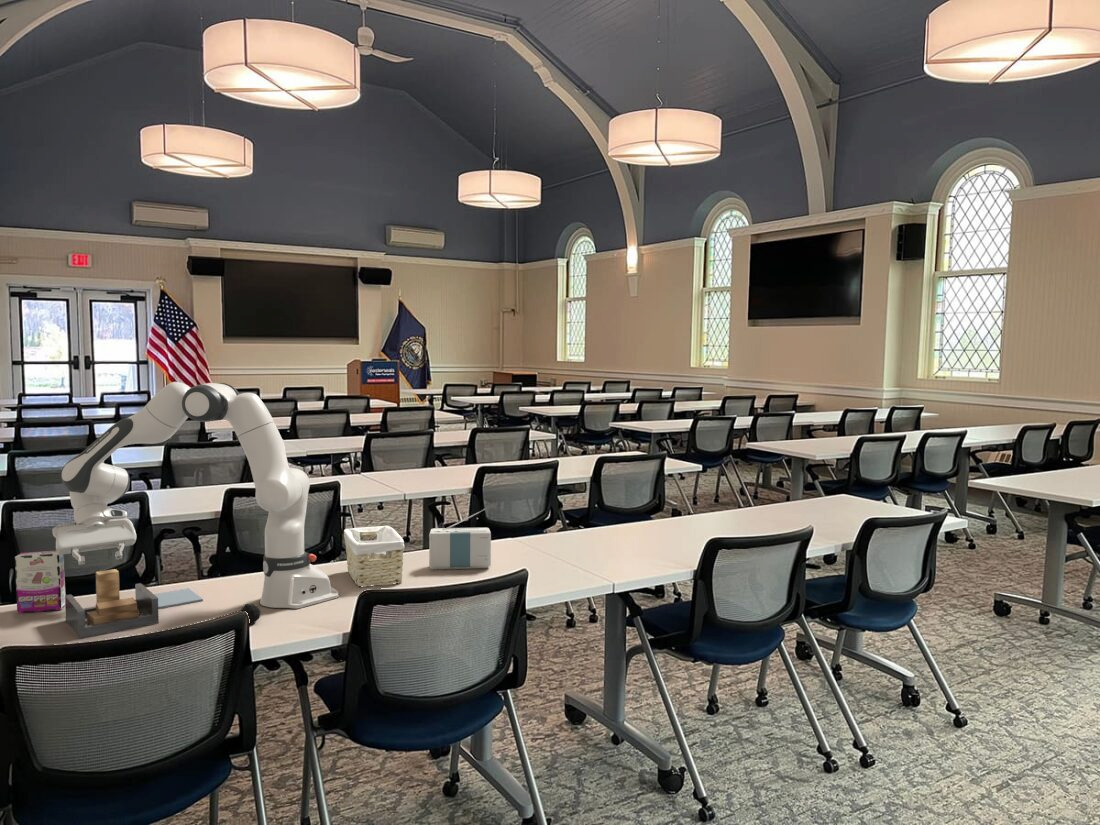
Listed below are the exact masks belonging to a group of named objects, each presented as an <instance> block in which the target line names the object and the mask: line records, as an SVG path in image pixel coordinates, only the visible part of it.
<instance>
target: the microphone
mask: <svg viewBox="0 0 1100 825" xmlns="http://www.w3.org/2000/svg"><path fill="white" fill-rule="evenodd" d="M241 611H246V612H247V613H248V616H249V619H250V624H249V625H254V624H255V622H257V621H259V619H260V618H261V614H262V613H261V610H260V607H259V606H258V605H256V604H252V603H251V604H249V603H246V604H244V606H243V607H242V608H241V610H240V612H241Z"/></svg>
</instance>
